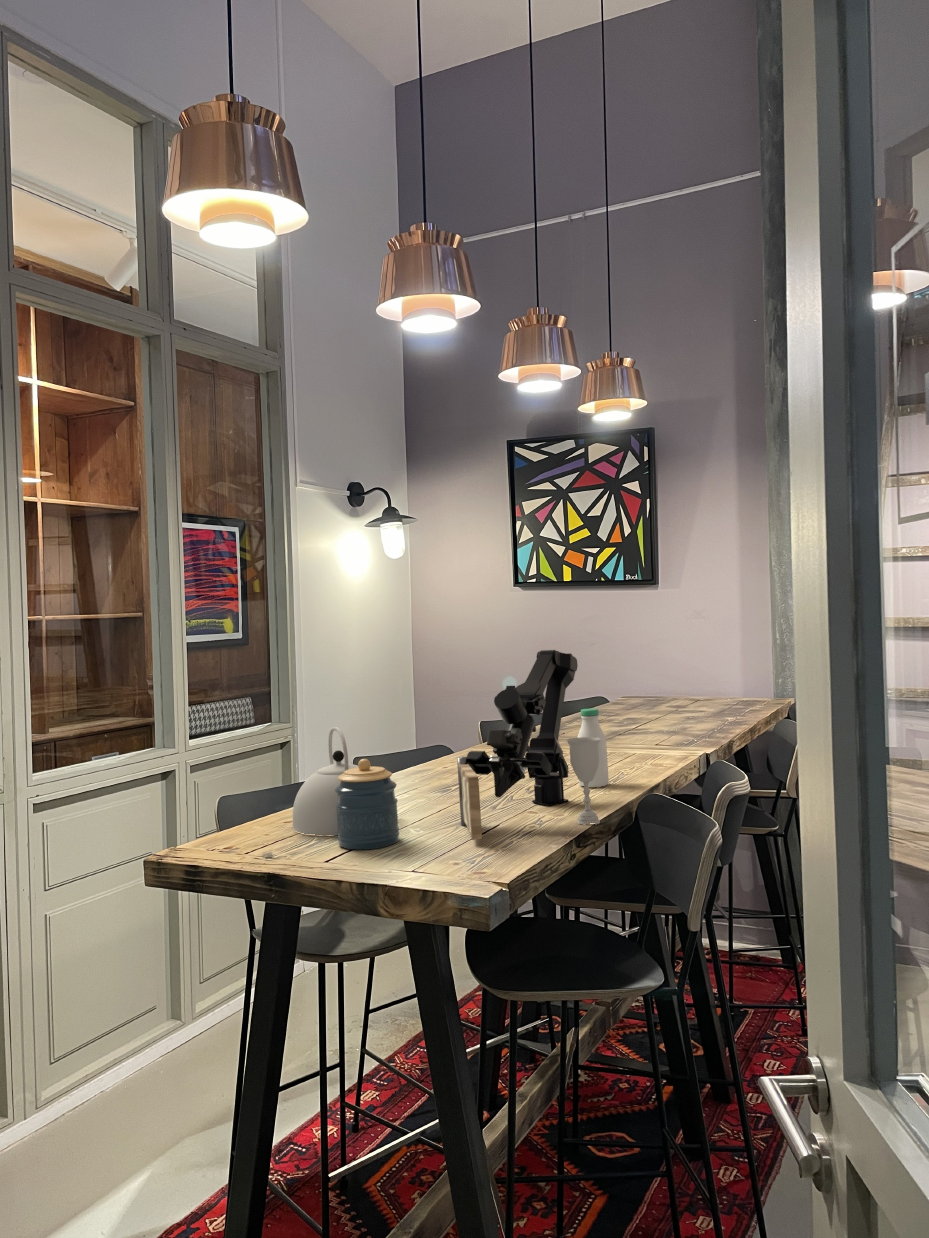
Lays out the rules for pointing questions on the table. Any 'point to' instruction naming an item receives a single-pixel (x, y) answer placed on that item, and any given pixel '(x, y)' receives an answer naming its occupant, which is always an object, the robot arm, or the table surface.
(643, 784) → the table surface
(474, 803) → the gate
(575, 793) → the table surface
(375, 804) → the canister
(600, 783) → the milk bottle
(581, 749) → the chalice
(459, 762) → the hinge post
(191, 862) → the table surface
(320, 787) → the kettle
